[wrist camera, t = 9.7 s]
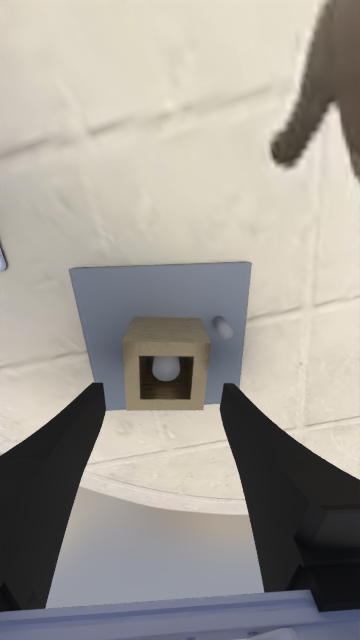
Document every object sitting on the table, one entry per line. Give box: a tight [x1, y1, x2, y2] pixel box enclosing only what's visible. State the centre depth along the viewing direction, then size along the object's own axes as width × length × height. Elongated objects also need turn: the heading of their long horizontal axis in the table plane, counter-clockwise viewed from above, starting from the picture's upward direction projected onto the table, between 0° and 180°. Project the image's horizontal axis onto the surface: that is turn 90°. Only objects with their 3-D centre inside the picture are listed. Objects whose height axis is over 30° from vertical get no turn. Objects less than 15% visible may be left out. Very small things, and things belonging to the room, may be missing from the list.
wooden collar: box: [122, 316, 211, 410], centre depth 16 cm, size 6×7×4 cm
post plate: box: [69, 262, 252, 411], centre depth 16 cm, size 14×14×4 cm
